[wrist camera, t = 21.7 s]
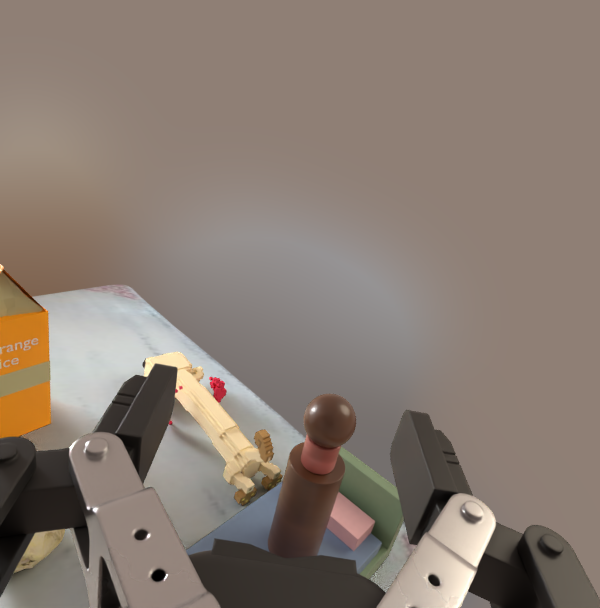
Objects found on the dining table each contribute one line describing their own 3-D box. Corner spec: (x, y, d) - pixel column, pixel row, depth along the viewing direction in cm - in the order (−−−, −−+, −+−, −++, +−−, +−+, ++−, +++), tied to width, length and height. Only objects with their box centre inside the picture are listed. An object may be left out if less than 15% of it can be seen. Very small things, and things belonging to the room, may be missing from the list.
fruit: (45, 487, 45) (87, 552, 38) (-22, 531, 41) (11, 611, 35) (21, 446, 42) (61, 510, 35) (-54, 490, 38) (-24, 569, 32)
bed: (160, 586, 38) (168, 520, 35) (300, 481, 52) (315, 427, 49) (257, 713, 32) (278, 647, 29) (388, 556, 46) (413, 499, 42)
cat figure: (290, 484, 53) (184, 360, 67) (310, 430, 49) (193, 311, 63) (218, 525, 46) (117, 378, 60) (235, 466, 42) (122, 323, 56)
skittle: (256, 542, 40) (293, 393, 33) (291, 514, 43) (330, 374, 37) (294, 581, 37) (342, 428, 31) (328, 548, 41) (377, 404, 34)
